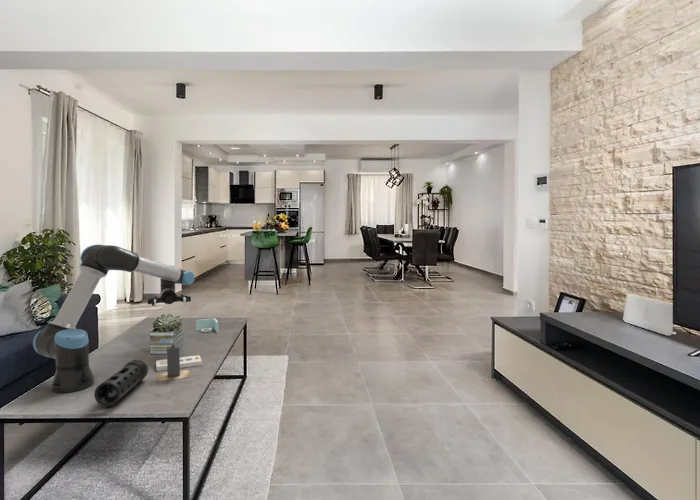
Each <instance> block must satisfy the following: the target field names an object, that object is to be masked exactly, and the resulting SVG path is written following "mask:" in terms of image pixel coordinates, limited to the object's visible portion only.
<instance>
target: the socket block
mask: <svg viewBox="0 0 700 500" xmlns="http://www.w3.org/2000/svg"><path fill="white" fill-rule="evenodd" d="M202 363H203V361H202V357H201V356H200V355H189V356H183V357H182V356H181V357H180V369H183V368H184V369H185V368H190V367H198V366H202V365H203V364H202ZM155 370H156V372H161V371H167V358H166V359H159V360H156V361H155Z"/></svg>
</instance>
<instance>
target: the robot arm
mask: <svg viewBox="0 0 700 500" xmlns="http://www.w3.org/2000/svg"><path fill="white" fill-rule="evenodd" d="M79 270H80V273H79V274H78V276H77V278H76V280H75V282H74V283H73V285H72V287H71V289H70V291H69V293H68V294H67V296H66V298H65V300H64V302H63V303H62V306H61V308H60V309H59V311H58V313H57V314H56V315H55V318H54V320H51V321H49V322H47V325H46V326H45V327H44V328H43V329H42V330H40V331H38V332H37V333H36V334H35V335H34V338H33V340H32V346H33V349H34V351H35V352H36V353H37V354H38V355H41V356H42V357H46V358H50V359H53V360H55V373H54V376H53V379H52V381H51V392H54V393H59V394H63V393H72V392H78V391H81V390H84V389H88V388H89V387H91V386H93V385H94V384H95V375H94V374H93V372H92V369H91V368H90V361H89V360H90V354H89V353H90V351H89V341H90V340H89V336H88V335H89V334H88V332H87V331H86V330H84V329H80V328H77V327H76V326H77V324H78V322H79V320H80V318H81V316H82V315H83V313H84V311H85V309H86V307H87V305H88V304H89V301H90V299H91V298H92V295H93V294H94V292H95V290H96V289H97V286H98V284H99V282H100V280H101V279H102V278H106V277H107V274H108V273H109V272H110V271H123V272H128V273H134V272H136V273H140V274H142V275H147V276H150V277H154V278H158V279H160V297H159V296H157V295H156V296H153V297H150V298H148V299H147V305H151V306H152V307H153V306H154V308H156V307H157V304H159V303H161V304H162V303H163V304H166V305H171V304H174V303H177V302H182V303H183V305H184V306H185V305H186V304H187V303H188V302H189V303H190V302H192V297H191V296H189V295H184V294H179V295H178V294H176V284H178V285H187V286H189V285H192V284H193V283H194V282H195V280H196V279H195V278H196V277H195V276H196V275H195V273H194V272H193V271H191V270H185V269H181V268H178V267H175V265H168V264H165V263H162V262H159V261H155V260H152V259H149V258H146V257H143V256H140V255H139V254H138V253H137V252H134V251H131V250H128V249H127V248H124V247H120V246H118V245H109V244H107V245H106V244H105V245H104V244H93V245H90V246H89V245H88V246H87V247H85V248H84V249H83V250H82V252H81V254H80V265H79Z"/></svg>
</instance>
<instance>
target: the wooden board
mask: <svg viewBox="0 0 700 500" xmlns="http://www.w3.org/2000/svg"><path fill="white" fill-rule="evenodd" d="M187 378H192V374H191V371H190V369H184V370H180V376H176V377H169V378H168V375H167V372H162V373H156V384H157V383H159V382H163V383H164V382H166V381H169V382H171V381H173V380H177V379H179V380H180V379H183V380H184V379H187Z"/></svg>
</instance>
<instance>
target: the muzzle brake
mask: <svg viewBox="0 0 700 500" xmlns="http://www.w3.org/2000/svg"><path fill="white" fill-rule="evenodd" d="M148 373H149V366H148V364H147V362H146V361H145V360H142V359H140V358H139V359H133V360H130V361H129V362H128V363H126V364H125V365H124V366H123V367H122V368H120V369H119V370H118V371H116V372H115V373H114V374H112V375H111V376H110V377H108V378H107V379H106V380H104V381H103V382H101V383H100V384H99V385H97V387H96V388H95V390H94V393H93V394H94V395H93V397H94V398H95V401H96V402H97V403H98V404H99V405H101V406H103V407H105V408H111V407H112V406H113V405H115V404H116V403H118V401H119V400H121V399H122V398H123V397H124V396H125V395H126V394H127V393H129V391H131V390H132V389H134V387H135V386H136V385H138V383H141V382H142V381H143V380H144V379H145V378H146V377H147V375H148Z"/></svg>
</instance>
